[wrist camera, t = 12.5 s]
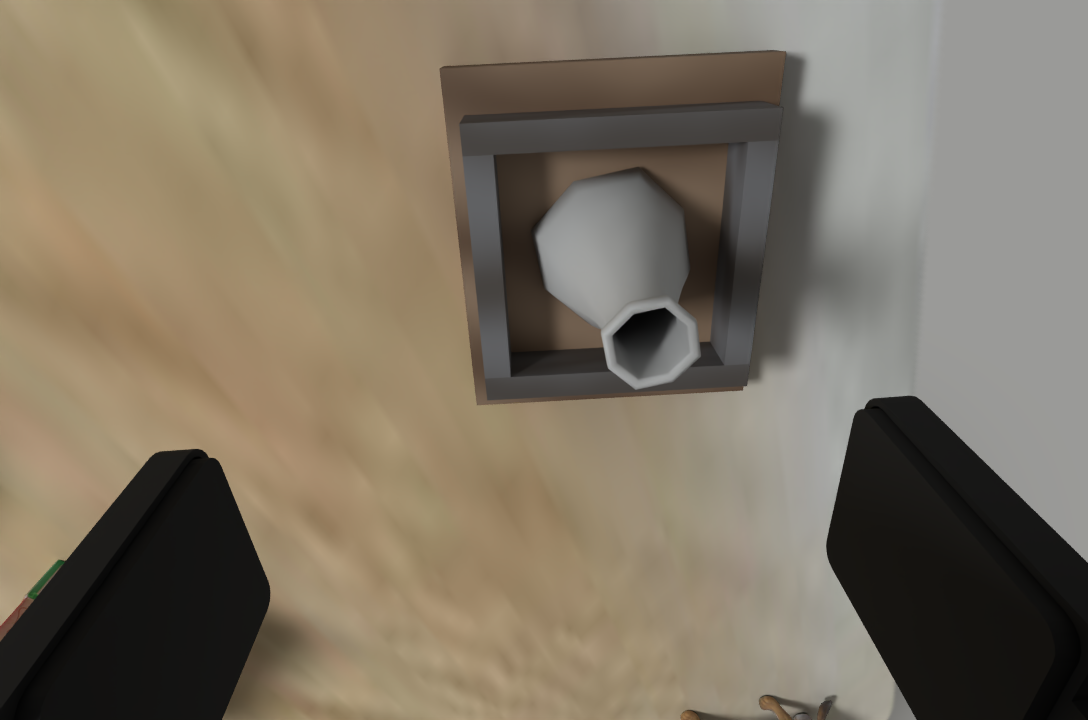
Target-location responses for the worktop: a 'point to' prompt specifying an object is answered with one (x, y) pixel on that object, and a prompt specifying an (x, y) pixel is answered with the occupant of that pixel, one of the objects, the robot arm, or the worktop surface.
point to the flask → (623, 272)
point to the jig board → (595, 149)
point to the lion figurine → (773, 710)
